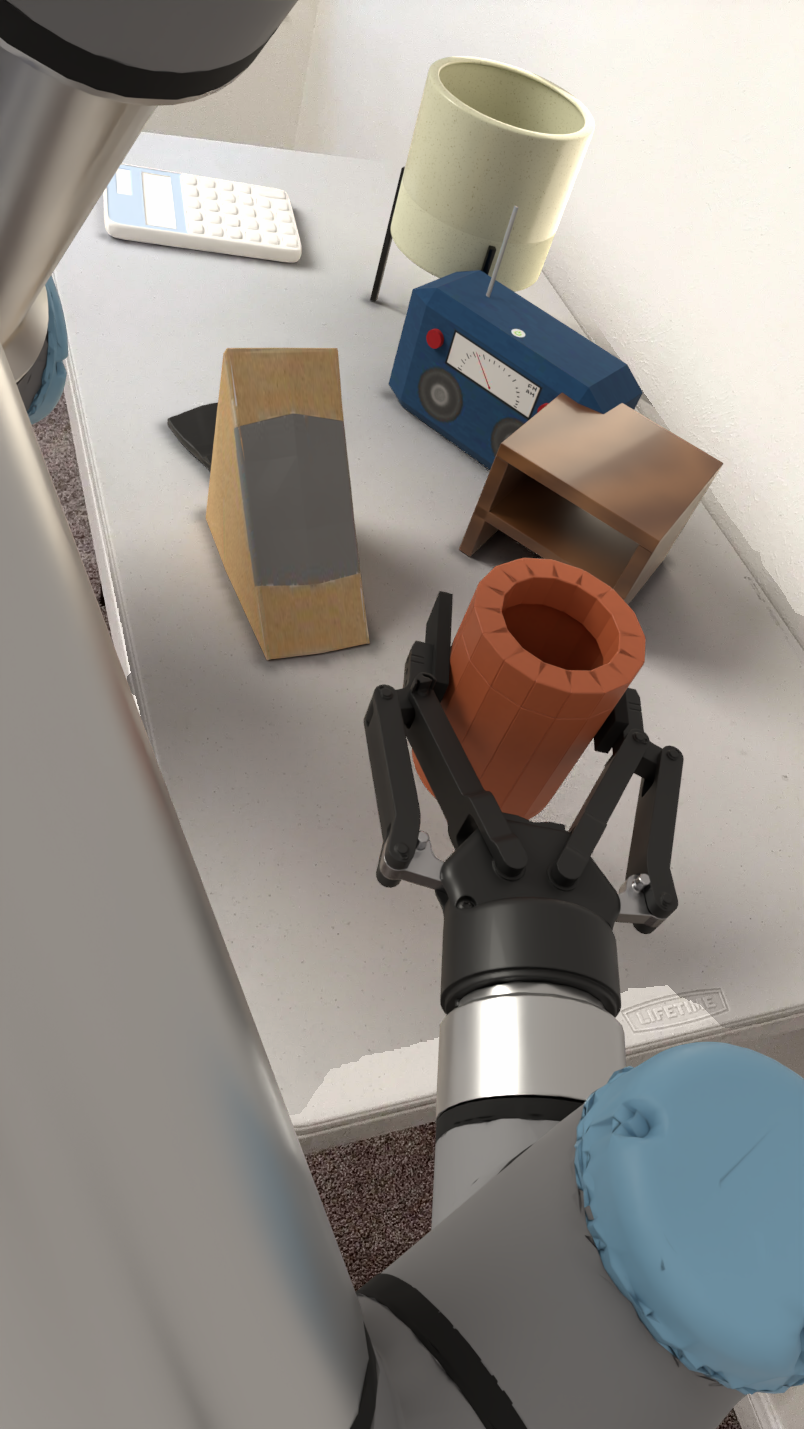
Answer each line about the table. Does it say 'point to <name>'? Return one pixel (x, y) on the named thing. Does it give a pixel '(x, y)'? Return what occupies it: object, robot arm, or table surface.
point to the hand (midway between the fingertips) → (522, 628)
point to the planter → (486, 171)
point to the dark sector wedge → (196, 431)
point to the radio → (495, 362)
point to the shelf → (562, 531)
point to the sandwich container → (287, 500)
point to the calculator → (201, 214)
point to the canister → (537, 676)
